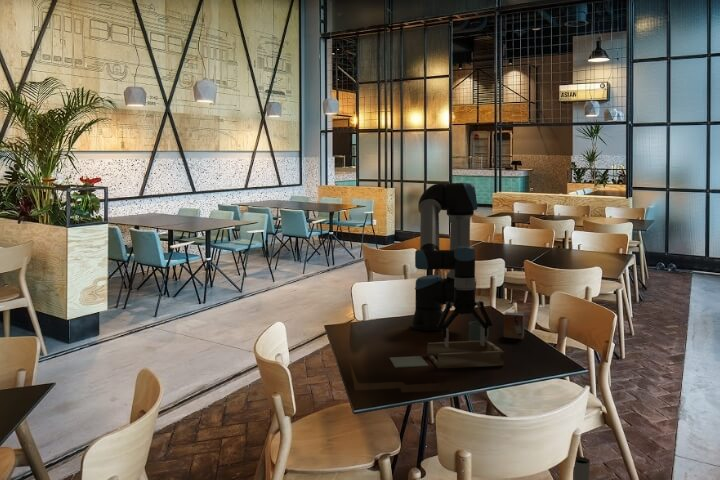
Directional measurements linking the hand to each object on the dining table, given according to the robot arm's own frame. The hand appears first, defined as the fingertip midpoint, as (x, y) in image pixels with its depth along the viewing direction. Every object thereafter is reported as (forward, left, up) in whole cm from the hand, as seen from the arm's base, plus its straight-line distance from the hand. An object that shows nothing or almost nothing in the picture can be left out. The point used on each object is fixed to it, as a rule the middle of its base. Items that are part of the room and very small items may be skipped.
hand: (464, 345), depth 219 cm
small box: (-30, +31, -6) cm, 44 cm away
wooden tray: (0, 0, -6) cm, 6 cm away
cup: (-17, +11, -6) cm, 21 cm away
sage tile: (-1, -21, -6) cm, 22 cm away
